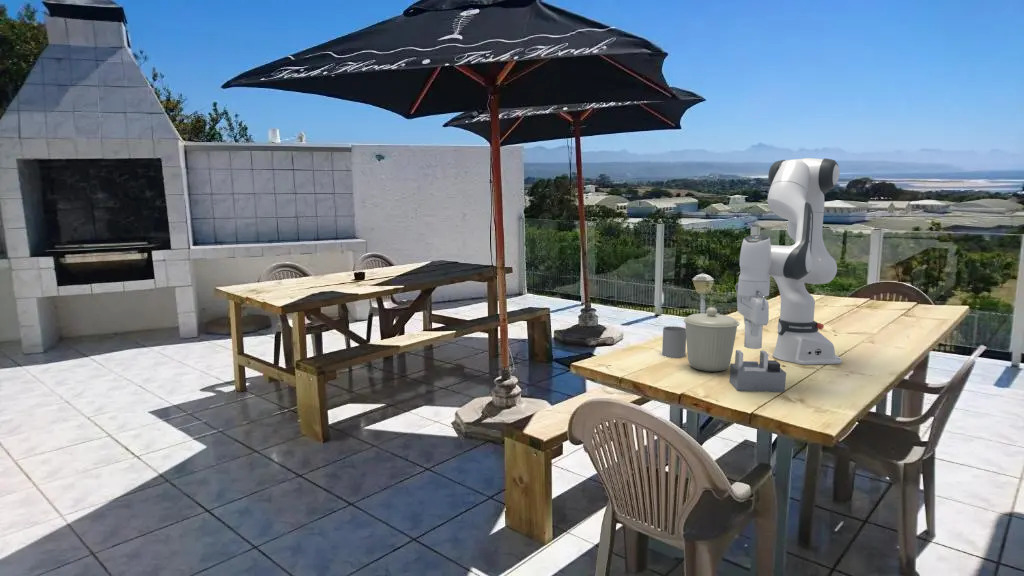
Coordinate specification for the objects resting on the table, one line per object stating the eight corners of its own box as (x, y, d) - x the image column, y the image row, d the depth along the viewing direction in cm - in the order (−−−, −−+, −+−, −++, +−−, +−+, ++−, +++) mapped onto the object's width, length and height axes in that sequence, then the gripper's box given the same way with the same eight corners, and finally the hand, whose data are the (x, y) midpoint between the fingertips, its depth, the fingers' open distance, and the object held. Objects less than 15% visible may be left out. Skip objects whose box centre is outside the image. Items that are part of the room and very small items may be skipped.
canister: (746, 368, 207) (750, 308, 204) (718, 378, 195) (722, 314, 192) (699, 357, 220) (702, 301, 217) (670, 366, 208) (673, 306, 205)
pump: (758, 344, 188) (760, 316, 187) (763, 348, 183) (765, 319, 182) (742, 344, 188) (743, 316, 187) (746, 348, 184) (748, 319, 182)
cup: (686, 358, 219) (687, 331, 218) (662, 357, 221) (663, 330, 219) (684, 352, 227) (685, 326, 226) (661, 351, 229) (662, 325, 228)
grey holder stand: (774, 382, 191) (777, 349, 189) (784, 392, 182) (787, 356, 180) (729, 381, 192) (731, 348, 190) (737, 390, 183) (739, 355, 182)
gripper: (775, 294, 172) (772, 342, 175) (754, 284, 193) (752, 326, 195) (753, 294, 173) (750, 341, 175) (734, 284, 193) (732, 326, 195)
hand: (751, 333), depth 185 cm, fingers closed on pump, 5 cm apart
